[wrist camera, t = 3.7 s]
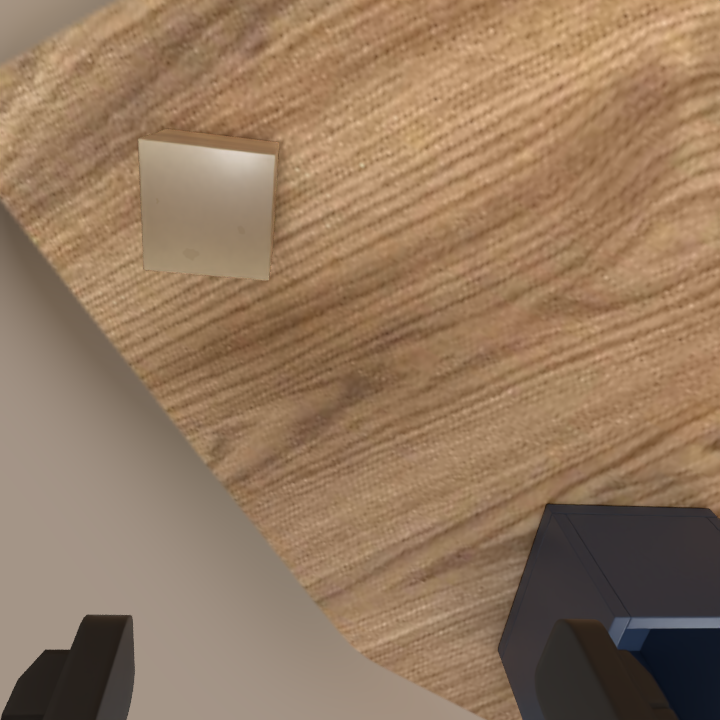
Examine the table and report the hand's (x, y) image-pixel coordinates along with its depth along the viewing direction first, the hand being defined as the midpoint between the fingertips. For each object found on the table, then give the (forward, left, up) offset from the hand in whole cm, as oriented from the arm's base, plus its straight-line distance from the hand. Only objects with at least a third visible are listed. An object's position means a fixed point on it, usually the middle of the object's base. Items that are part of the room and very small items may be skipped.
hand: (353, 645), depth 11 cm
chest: (-17, -20, -17) cm, 31 cm away
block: (+5, +4, -17) cm, 18 cm away
